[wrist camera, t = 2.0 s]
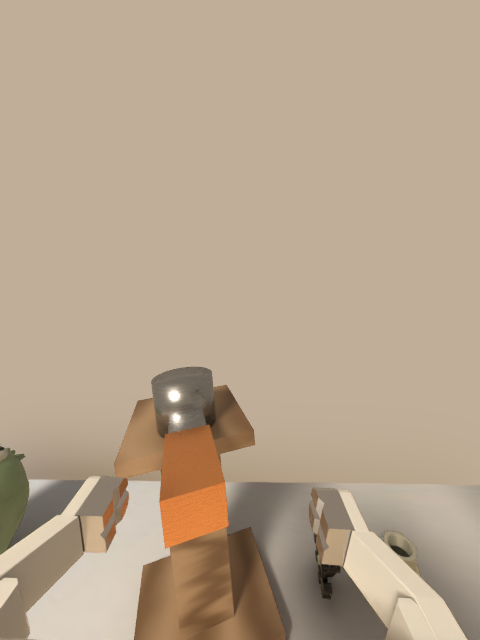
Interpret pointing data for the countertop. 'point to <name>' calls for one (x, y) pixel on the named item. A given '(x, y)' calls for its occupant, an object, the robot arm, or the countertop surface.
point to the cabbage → (11, 495)
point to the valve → (391, 539)
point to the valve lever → (188, 455)
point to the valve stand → (201, 551)
